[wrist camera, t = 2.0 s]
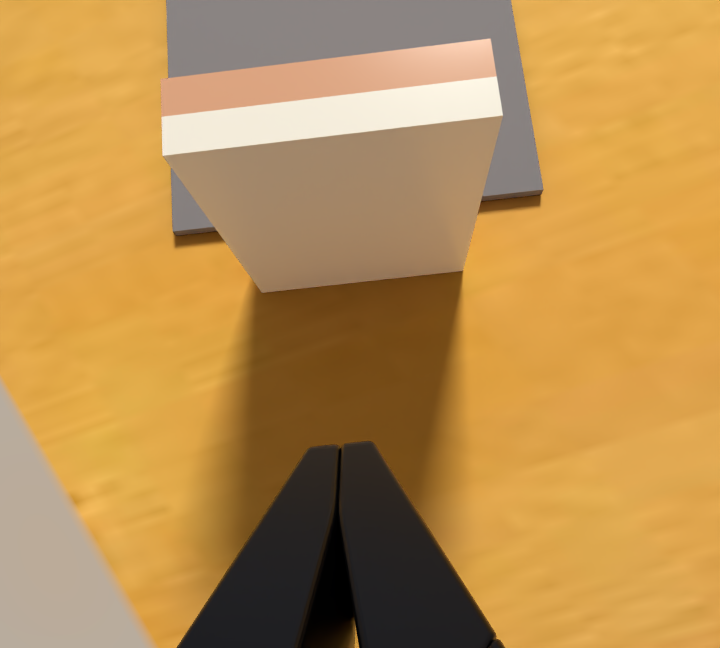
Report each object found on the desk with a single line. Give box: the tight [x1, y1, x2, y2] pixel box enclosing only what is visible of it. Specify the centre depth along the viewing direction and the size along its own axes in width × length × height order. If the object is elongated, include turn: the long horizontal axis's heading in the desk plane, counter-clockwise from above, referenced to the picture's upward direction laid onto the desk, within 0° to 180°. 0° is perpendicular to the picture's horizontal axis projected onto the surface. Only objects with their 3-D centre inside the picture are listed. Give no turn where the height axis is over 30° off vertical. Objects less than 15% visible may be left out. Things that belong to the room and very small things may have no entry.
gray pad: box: [166, 0, 543, 236], centre depth 25 cm, size 12×13×1 cm
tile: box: [161, 39, 503, 293], centre depth 19 cm, size 2×7×10 cm, turn 95°
